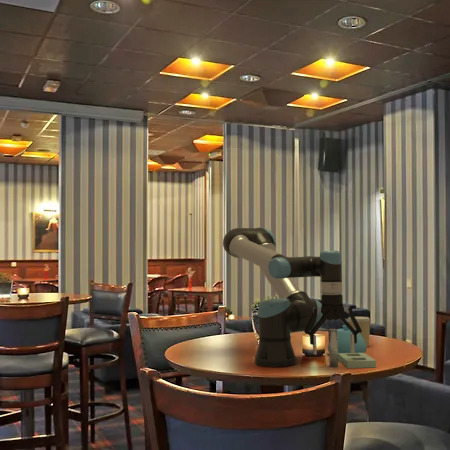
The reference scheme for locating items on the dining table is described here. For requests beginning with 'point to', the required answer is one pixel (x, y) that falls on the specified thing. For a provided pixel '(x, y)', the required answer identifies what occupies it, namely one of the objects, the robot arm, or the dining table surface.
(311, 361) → the dining table surface
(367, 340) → the coffee cup
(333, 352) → the grey stone block
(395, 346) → the dining table surface
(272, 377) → the dining table surface
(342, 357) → the hole board
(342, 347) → the sugar bowl
